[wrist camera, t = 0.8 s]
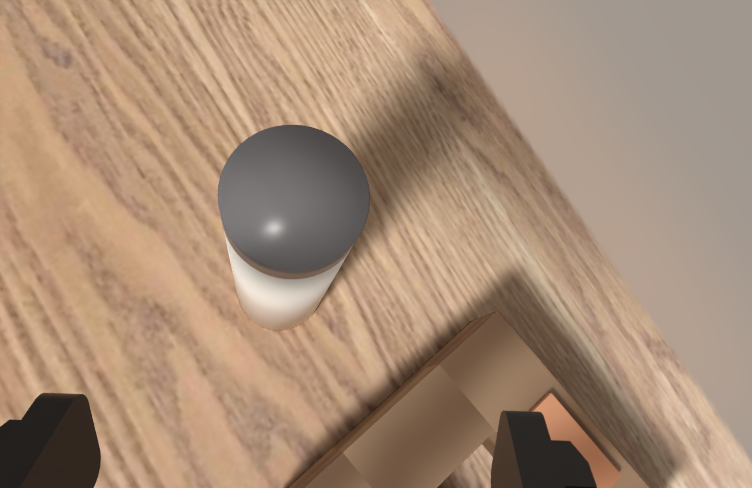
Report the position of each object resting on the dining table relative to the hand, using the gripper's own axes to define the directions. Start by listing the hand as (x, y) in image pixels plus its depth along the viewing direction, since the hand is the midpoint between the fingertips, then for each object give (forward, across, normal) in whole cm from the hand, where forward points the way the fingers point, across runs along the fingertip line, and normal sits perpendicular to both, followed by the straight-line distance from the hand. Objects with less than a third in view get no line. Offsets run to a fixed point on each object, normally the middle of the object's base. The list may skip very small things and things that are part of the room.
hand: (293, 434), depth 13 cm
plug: (+20, +4, +9) cm, 22 cm away
